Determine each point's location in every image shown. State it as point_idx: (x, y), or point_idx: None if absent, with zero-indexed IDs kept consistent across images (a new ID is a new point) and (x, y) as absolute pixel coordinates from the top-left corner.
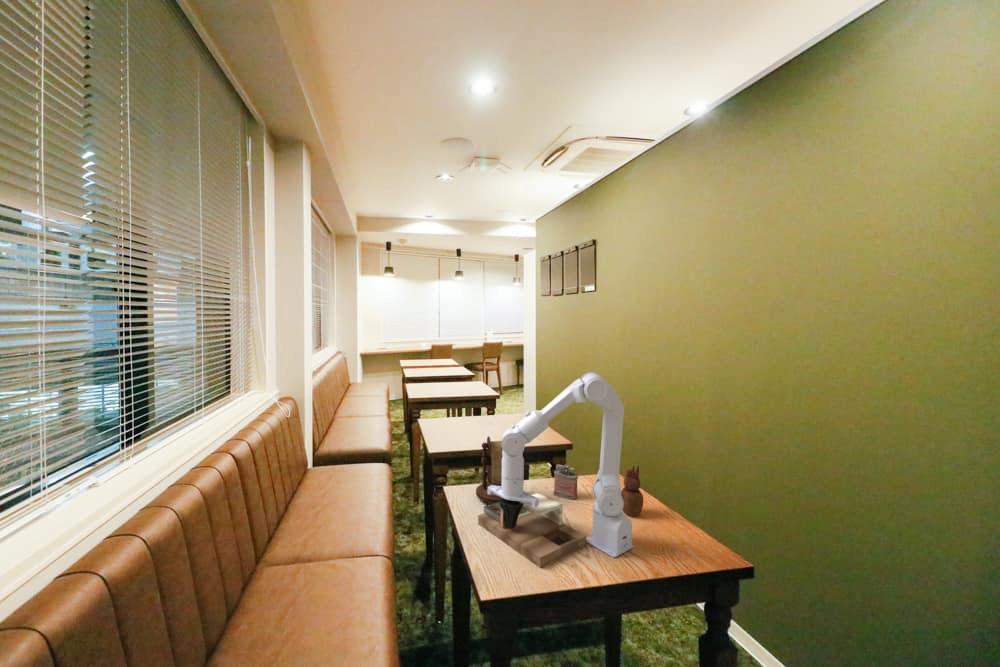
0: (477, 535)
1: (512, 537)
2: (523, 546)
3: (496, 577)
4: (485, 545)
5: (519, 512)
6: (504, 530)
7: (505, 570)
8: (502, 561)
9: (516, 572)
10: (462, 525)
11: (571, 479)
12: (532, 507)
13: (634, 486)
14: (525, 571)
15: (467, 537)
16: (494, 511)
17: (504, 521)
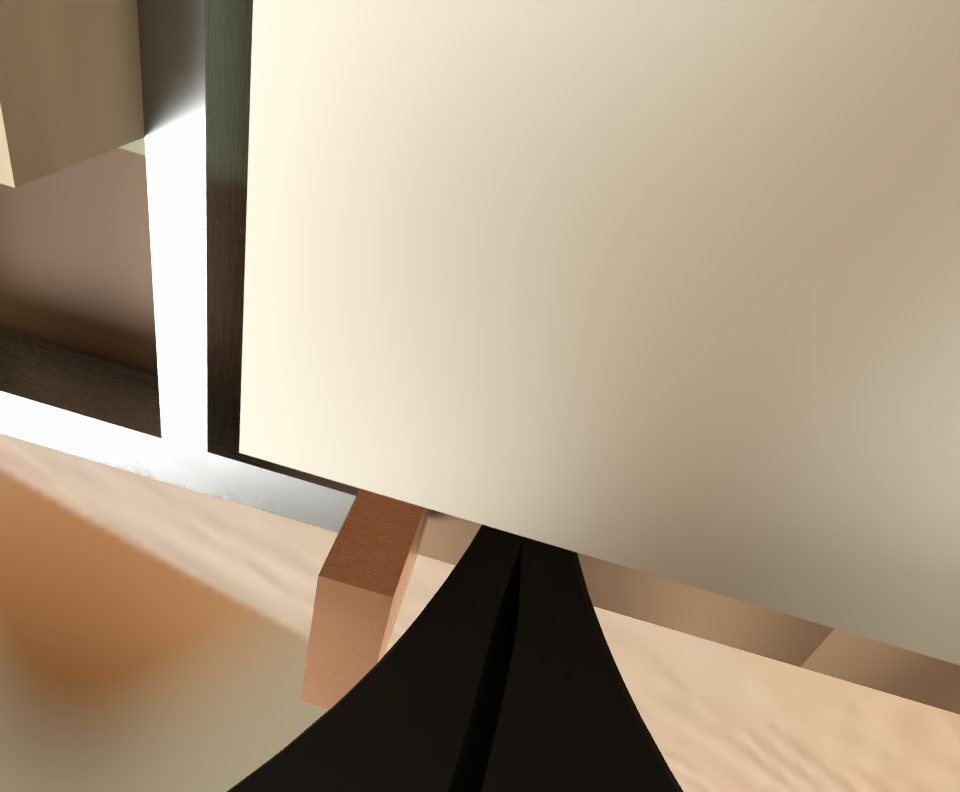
0: (242, 519)
1: (642, 610)
2: (845, 677)
3: None
4: (416, 596)
5: (612, 664)
6: (469, 542)
7: (757, 750)
8: (677, 691)
9: (851, 744)
10: (9, 459)
11: None
12: (925, 618)
13: None
14: (921, 720)
15: (216, 573)
16: (78, 422)
17: (409, 572)
